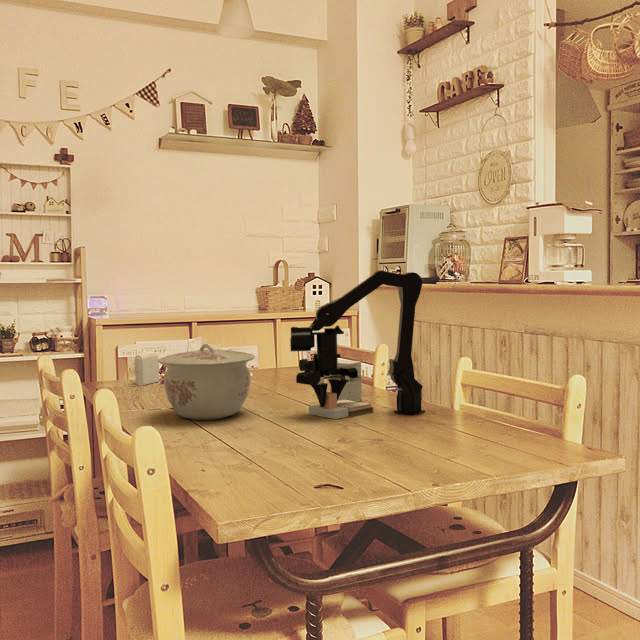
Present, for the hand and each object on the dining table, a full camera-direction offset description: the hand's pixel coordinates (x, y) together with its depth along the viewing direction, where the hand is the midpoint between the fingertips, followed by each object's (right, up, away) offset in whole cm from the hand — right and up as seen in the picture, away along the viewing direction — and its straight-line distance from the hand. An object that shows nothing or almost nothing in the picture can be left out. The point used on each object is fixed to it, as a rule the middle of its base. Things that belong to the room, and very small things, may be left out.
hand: (328, 405), depth 192 cm
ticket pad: (+6, -2, +5) cm, 8 cm away
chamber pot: (-34, -4, +5) cm, 35 cm away
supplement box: (+6, -2, +21) cm, 22 cm away
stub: (0, -3, 0) cm, 3 cm away
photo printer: (-68, 0, +68) cm, 96 cm away
